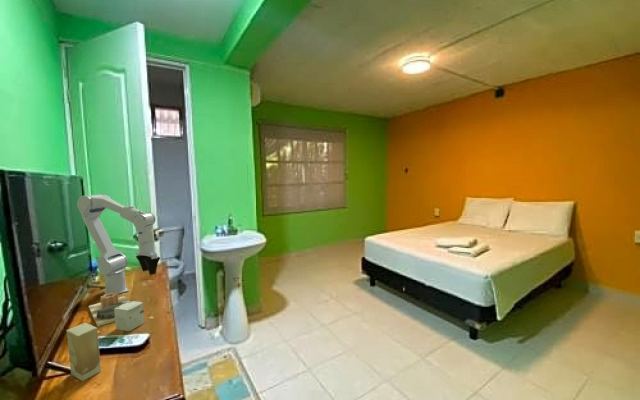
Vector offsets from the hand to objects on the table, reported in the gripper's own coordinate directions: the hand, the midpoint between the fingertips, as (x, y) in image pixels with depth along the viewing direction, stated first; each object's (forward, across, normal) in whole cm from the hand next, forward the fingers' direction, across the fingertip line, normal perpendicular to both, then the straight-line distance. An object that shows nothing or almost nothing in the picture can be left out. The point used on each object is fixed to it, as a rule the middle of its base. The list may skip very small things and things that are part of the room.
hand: (149, 272), depth 124 cm
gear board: (+9, +6, -16) cm, 19 cm away
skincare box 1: (+10, +41, -31) cm, 53 cm away
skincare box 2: (+10, +24, -15) cm, 30 cm away
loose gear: (+8, +2, -15) cm, 17 cm away
